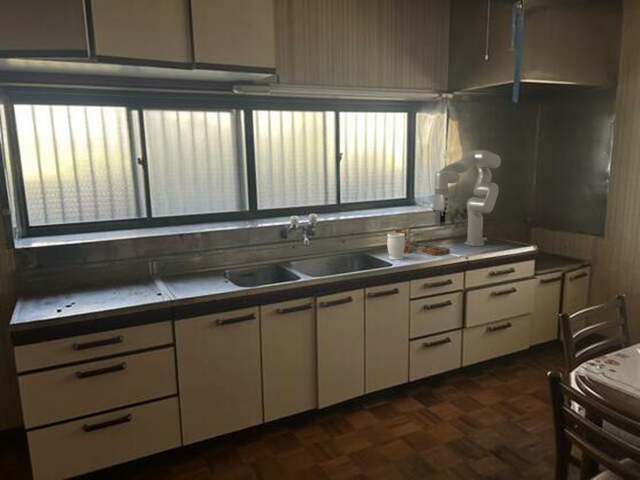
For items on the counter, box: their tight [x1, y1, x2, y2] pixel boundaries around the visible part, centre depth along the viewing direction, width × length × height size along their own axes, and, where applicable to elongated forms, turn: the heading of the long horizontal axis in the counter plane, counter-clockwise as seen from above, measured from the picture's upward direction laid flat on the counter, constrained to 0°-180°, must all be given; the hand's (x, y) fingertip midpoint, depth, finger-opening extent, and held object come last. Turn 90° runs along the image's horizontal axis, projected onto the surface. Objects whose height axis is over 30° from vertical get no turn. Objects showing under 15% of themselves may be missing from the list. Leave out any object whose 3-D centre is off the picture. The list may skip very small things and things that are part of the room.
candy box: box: [394, 227, 411, 254], centre depth 309 cm, size 9×4×15 cm, turn 60°
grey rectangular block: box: [434, 210, 446, 227], centre depth 303 cm, size 4×4×11 cm
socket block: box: [414, 244, 451, 259], centre depth 303 cm, size 12×18×4 cm
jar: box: [386, 232, 405, 261], centre depth 293 cm, size 11×10×15 cm
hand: (440, 221), depth 303 cm, fingers closed on grey rectangular block, 4 cm apart
